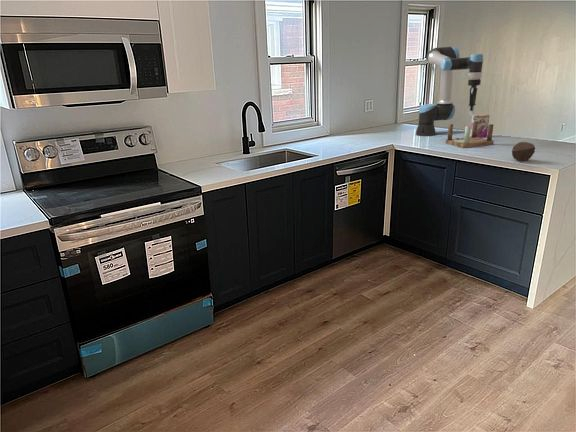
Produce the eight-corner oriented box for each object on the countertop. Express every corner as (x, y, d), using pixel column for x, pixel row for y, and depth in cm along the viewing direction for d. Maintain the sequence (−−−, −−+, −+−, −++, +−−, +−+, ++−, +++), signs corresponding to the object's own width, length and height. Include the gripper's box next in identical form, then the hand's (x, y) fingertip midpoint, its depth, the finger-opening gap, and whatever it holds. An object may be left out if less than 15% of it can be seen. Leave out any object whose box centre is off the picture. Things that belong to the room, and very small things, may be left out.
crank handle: (453, 141, 292) (454, 125, 288) (456, 140, 294) (457, 125, 290) (466, 143, 283) (468, 127, 280) (469, 143, 285) (471, 126, 281)
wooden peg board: (445, 143, 302) (446, 124, 297) (474, 139, 307) (476, 121, 302) (462, 148, 283) (464, 128, 279) (493, 144, 289) (495, 124, 284)
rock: (514, 155, 238) (507, 142, 244) (512, 166, 247) (505, 154, 252) (537, 149, 236) (530, 136, 242) (534, 160, 244) (527, 148, 250)
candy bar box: (471, 138, 313) (473, 115, 308) (469, 136, 318) (471, 114, 312) (487, 137, 312) (489, 115, 306) (485, 136, 317) (487, 114, 311)
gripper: (470, 78, 283) (467, 114, 291) (466, 79, 273) (463, 116, 281) (482, 78, 279) (478, 114, 287) (479, 79, 269) (475, 117, 277)
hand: (471, 115), depth 284 cm, fingers closed
